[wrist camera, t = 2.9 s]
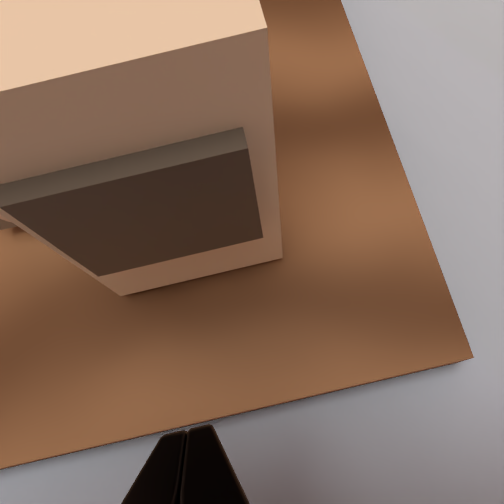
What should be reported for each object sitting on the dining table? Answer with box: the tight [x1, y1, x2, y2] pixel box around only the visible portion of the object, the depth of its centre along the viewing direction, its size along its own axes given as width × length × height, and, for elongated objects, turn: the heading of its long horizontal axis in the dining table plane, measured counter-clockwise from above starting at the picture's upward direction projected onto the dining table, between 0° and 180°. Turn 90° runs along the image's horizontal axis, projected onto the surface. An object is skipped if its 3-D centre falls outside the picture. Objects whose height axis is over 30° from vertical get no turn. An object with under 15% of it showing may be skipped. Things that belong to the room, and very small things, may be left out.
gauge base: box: [0, 0, 474, 470], centre depth 14 cm, size 18×16×8 cm
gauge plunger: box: [0, 0, 283, 296], centre depth 11 cm, size 4×8×9 cm, turn 103°
